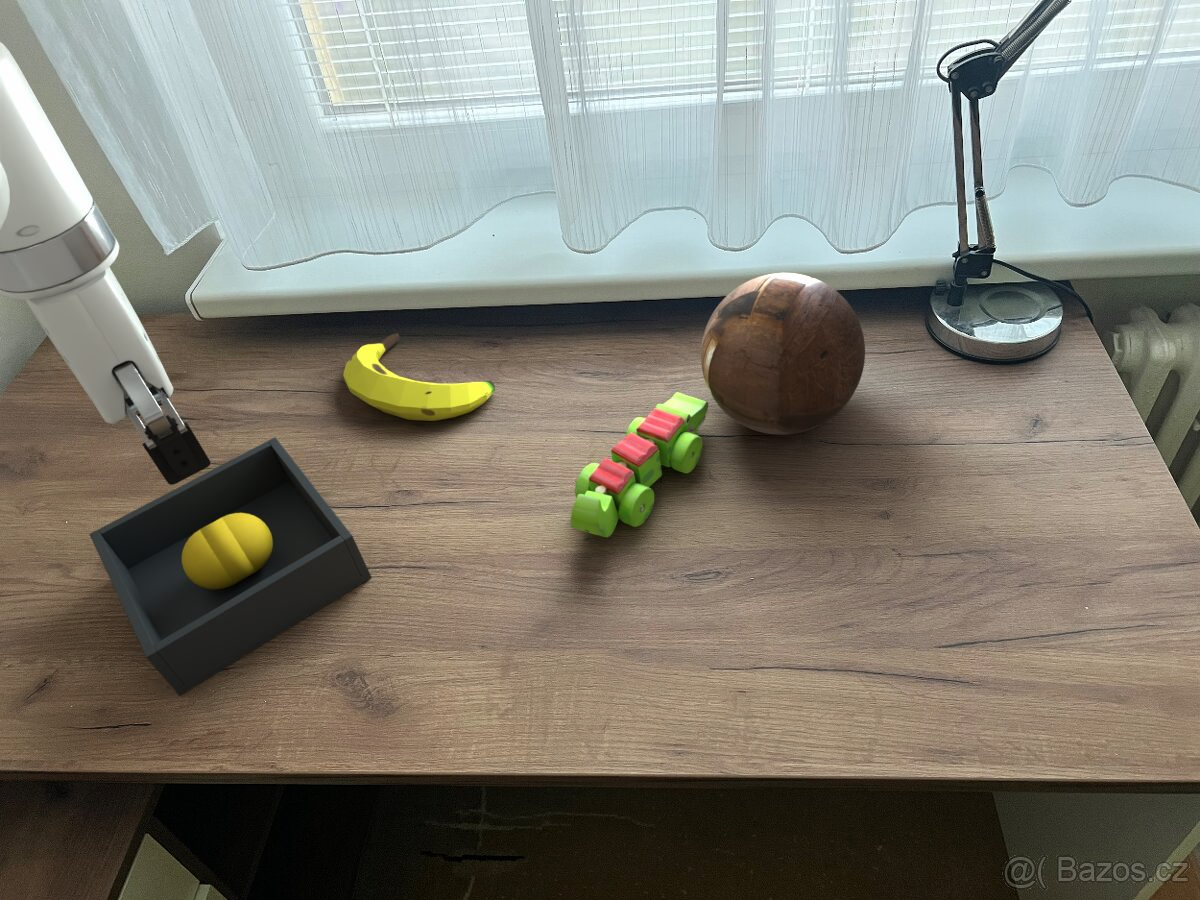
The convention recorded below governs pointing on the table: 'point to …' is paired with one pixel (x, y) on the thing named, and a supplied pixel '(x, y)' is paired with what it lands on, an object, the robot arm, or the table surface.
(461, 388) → the banana
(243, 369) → the table surface
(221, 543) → the yellow rounded tiered object
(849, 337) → the wooden sphere
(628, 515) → the toy crocodile
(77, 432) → the table surface
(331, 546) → the crate
